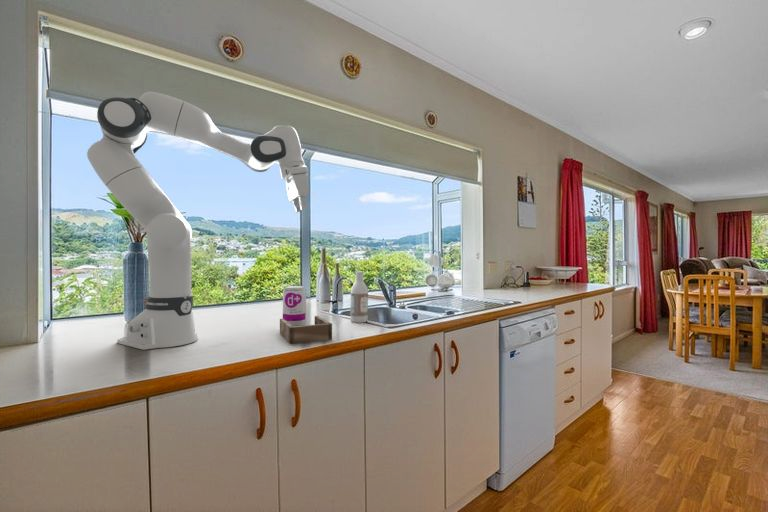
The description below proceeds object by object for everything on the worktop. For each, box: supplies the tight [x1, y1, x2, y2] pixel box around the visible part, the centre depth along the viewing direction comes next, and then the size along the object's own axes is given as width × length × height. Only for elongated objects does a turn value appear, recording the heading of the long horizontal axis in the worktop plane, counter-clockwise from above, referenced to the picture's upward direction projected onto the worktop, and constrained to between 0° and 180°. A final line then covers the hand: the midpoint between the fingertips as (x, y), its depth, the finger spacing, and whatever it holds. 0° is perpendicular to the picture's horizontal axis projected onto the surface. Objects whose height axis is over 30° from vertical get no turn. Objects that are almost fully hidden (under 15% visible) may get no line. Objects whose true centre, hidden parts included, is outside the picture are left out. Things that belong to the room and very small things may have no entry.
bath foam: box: [349, 270, 369, 324], centre depth 147 cm, size 7×7×20 cm
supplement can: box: [282, 285, 307, 327], centre depth 134 cm, size 8×8×15 cm
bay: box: [279, 315, 333, 345], centre depth 121 cm, size 15×13×5 cm
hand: (301, 211), depth 132 cm, fingers open, 8 cm apart
